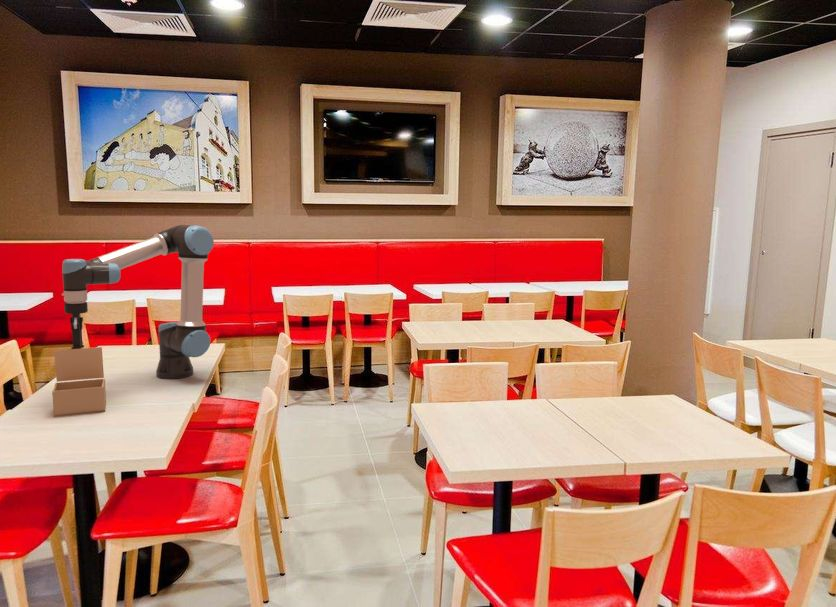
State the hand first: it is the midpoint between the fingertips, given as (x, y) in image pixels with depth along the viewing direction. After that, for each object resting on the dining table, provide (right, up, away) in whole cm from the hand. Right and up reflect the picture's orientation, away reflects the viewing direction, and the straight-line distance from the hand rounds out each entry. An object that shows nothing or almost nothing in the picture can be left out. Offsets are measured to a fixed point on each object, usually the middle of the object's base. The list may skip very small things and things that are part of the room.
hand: (78, 365), depth 244 cm
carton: (+4, -15, -5) cm, 17 cm away
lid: (+2, +1, -3) cm, 3 cm away
